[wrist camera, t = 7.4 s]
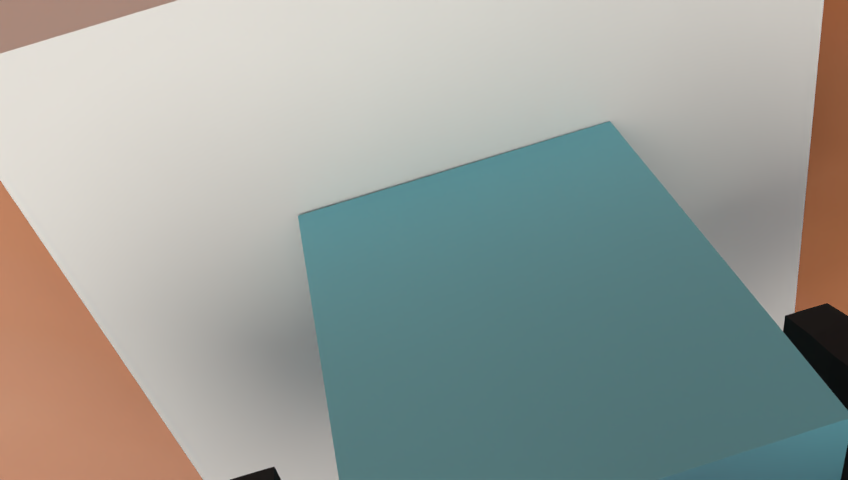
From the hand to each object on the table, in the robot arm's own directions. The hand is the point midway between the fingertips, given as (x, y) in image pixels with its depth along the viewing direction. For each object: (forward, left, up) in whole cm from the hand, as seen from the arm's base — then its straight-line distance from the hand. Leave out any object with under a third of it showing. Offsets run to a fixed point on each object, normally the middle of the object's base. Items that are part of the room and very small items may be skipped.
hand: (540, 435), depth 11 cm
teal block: (0, 0, -3) cm, 3 cm away
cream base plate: (0, 0, -6) cm, 6 cm away
